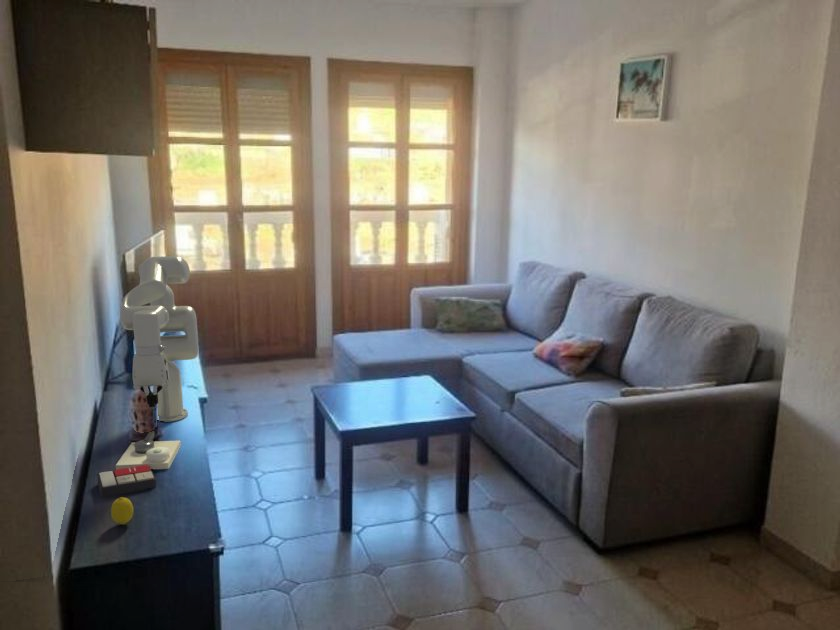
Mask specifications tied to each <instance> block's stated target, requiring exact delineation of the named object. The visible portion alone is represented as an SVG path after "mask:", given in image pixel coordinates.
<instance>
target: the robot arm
mask: <svg viewBox="0 0 840 630" xmlns="http://www.w3.org/2000/svg"><path fill="white" fill-rule="evenodd" d="M190 271H191V270H190V266H189V264H188V262H187V261H186V260H185V259H184V258H183V257H181V256H178V255H177V256H176V255H175V256H174V255H173V256H172V255H171V256H169V255H167V256H151V257H148V258H146V259H145V260H144V261H143V262H141V263H140V264H139V266H138V273H139V274H138V275H139V285H137V286H135V287H133V288H132V289H131V290H130V291H129V292H127V293H126V294H125V296H124V297H123V299H122V302H121V307H120V313H119V314H120V315H119V321H120V324H121V327H122V328H123V329H125V330H127V331H133V336H134V348H135V354H134V355H133V358H132V383H133V387H132V388H133V389H134V390H138V391H139V390H140V392H141V391H142V392H143V393H144V394H145V396H146V401H147V402H146V403H147V405H148V407H149V408H156V405H157V404H158V416H159V421H158V422H160V421H164V423H167V422H168V423H169V422H170V423H171V422H176V421H180V420H183V419H184V418H186V417H187V416H189V415H188V414H189V412H188V410H187V409H186V408H184V401H183V388H182V376H181V374H182V373H181V370H180V368H179V366H178V365H177V364H176V363H175V361H176V362H177V361H190V360H191V361H192V360H196V358H197V357H198V355H199V352H200V350H199V349H200V348H199V333H198V319H197V314H196V311H195V309H194V308H193V307H192V306H189V305H176V304H175V294H174V291H173V290H172V288H171V287H170V286H169V285H173V284H174V285H176V284H177V285H178V284H186V283H188V281H189V279H190V275H191V272H190ZM147 304H150V305H147ZM173 332H174V333H175V332H177V333H180V332H183V333H184V334H176V335H174V334H173V335H161V333H173ZM151 387H153V388H151Z"/></svg>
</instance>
